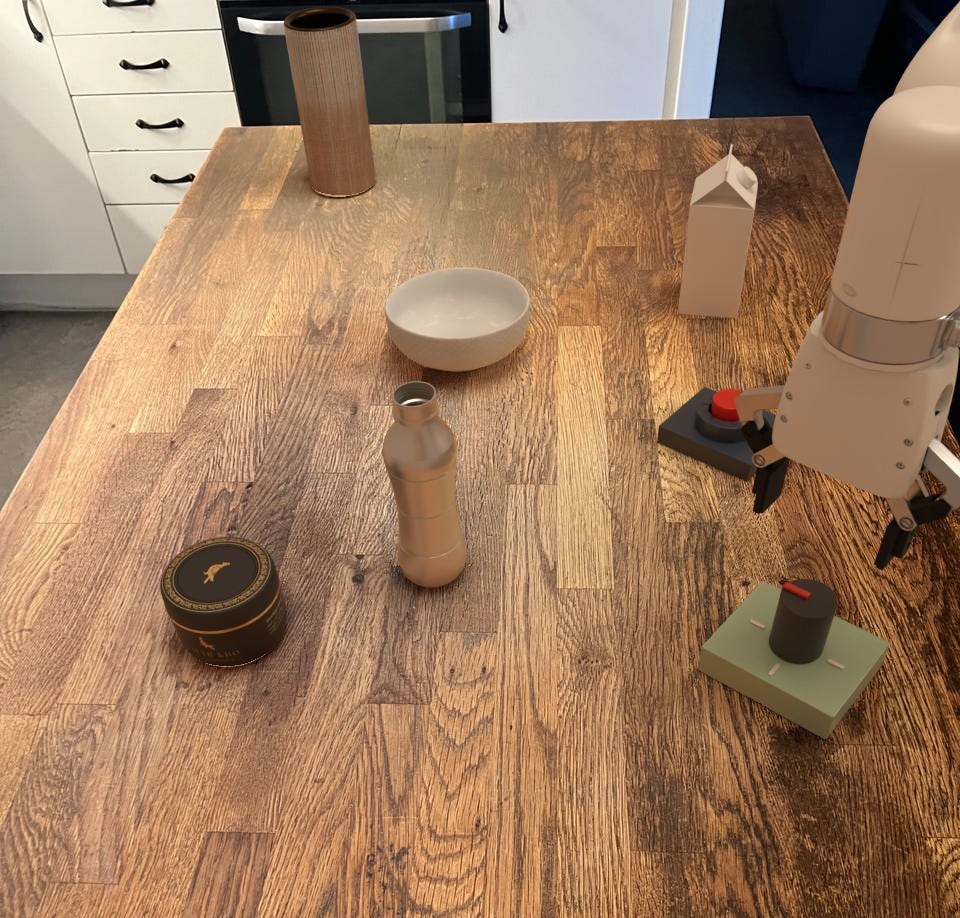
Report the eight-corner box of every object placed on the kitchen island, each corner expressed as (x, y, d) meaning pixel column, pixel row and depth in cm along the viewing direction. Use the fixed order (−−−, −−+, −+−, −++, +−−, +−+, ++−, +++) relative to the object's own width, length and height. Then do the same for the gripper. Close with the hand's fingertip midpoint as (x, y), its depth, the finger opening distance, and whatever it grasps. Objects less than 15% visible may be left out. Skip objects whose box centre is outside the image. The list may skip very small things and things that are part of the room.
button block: (790, 439, 106) (798, 407, 103) (747, 482, 102) (753, 450, 99) (702, 403, 111) (706, 372, 108) (656, 442, 107) (660, 411, 104)
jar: (165, 670, 88) (139, 610, 82) (201, 590, 95) (180, 530, 89) (274, 678, 87) (255, 618, 81) (303, 597, 93) (287, 536, 88)
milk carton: (675, 326, 122) (693, 168, 108) (682, 297, 126) (699, 142, 112) (735, 331, 120) (760, 172, 106) (739, 302, 125) (764, 145, 111)
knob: (832, 640, 83) (848, 591, 78) (806, 672, 81) (821, 623, 76) (785, 617, 85) (798, 568, 80) (758, 647, 83) (770, 598, 78)
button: (752, 410, 104) (755, 396, 102) (734, 427, 102) (736, 413, 101) (722, 398, 105) (724, 384, 104) (704, 415, 104) (706, 400, 102)
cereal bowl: (551, 332, 122) (552, 278, 117) (496, 406, 112) (494, 350, 107) (429, 307, 128) (424, 255, 122) (365, 376, 118) (357, 322, 112)
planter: (309, 175, 156) (281, 10, 139) (372, 167, 157) (352, 2, 140) (313, 202, 150) (284, 33, 133) (379, 194, 150) (359, 25, 134)
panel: (881, 666, 85) (891, 641, 82) (825, 740, 80) (834, 716, 77) (756, 603, 90) (762, 578, 88) (696, 669, 85) (701, 645, 83)
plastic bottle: (481, 561, 96) (470, 382, 81) (444, 606, 92) (425, 427, 77) (425, 540, 98) (403, 362, 83) (386, 583, 94) (357, 405, 79)
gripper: (1054, 338, 58) (960, 553, 71) (789, 254, 66) (747, 461, 79) (1005, 396, 55) (915, 612, 67) (730, 300, 63) (696, 509, 75)
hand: (824, 530), depth 73 cm, fingers open, 9 cm apart
